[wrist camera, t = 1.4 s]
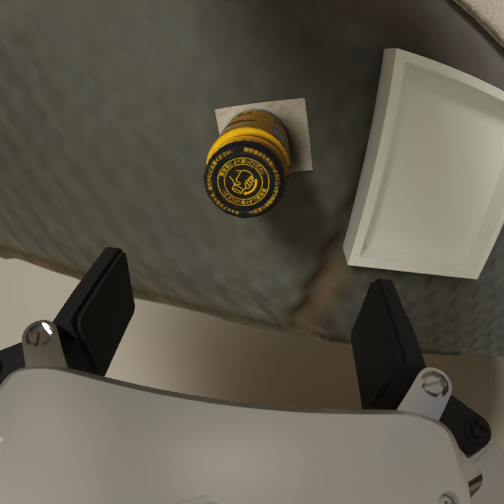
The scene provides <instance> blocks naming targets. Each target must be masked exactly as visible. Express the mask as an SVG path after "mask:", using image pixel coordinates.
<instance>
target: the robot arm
mask: <svg viewBox="0 0 504 504" xmlns="http://www.w3.org/2000/svg"><path fill="white" fill-rule="evenodd" d="M134 310H135V304H134V298H133V293H132V287H131V282H130V276H129V270H128V264H127V257H126V254H125V253H123V252H122V250H121V249H120V248H112V247H106V248H105V249H104V251H103V252H102V253H101V255H100V256H99V257H98V259H97V260H96V261H95V263H94V264H93V265H92V267H91V268H90V269H89V271H88V272H87V274H86V275H85V276H84V278H83V279H82V280H81V281H80V283H79V284H78V286H77V287H76V288H75V290H74V291H73V293H72V294H71V295H70V297H69V298H68V300H67V301H66V303H65V304H64V306H63V307H62V309H61V310H60V312H59V313H58V315H57V316H56V318H55V319H54V321H53V322H50V321H47V320H40V321H36V322H34V323H32V324H30V325H29V326H28V327H27V328H26V329H25V331H24V333H23V335H22V342H21V343H18V344H16V345H13V346H11V347H8V348H6V349H3V350H1V351H0V504H504V451H503V450H502V448H501V447H500V446H499V444H498V443H497V442H496V441H494V442H492V441H491V440H490V438H491V429H490V426H489V424H488V423H487V421H486V420H485V419H484V418H482V417H481V416H480V415H478V414H477V413H476V412H474V411H473V410H472V409H470V408H468V407H467V406H466V405H464V404H463V403H462V402H460V401H459V400H458V399H456V398H455V397H453V396H452V395H451V392H452V384H451V382H450V379H449V378H448V376H447V375H446V374H445V373H444V372H442V371H441V370H439V369H436V368H431V367H430V368H426V366H425V363H424V360H423V357H422V354H421V351H420V348H419V345H418V342H417V339H416V336H415V334H414V331H413V328H412V325H411V323H410V320H409V318H408V316H406V314H405V312H404V309H403V306H402V304H401V301H400V299H399V296H398V294H397V291H396V289H395V286H394V284H393V282H392V280H386V279H377V280H376V281H375V282H372V283H371V285H370V287H369V290H368V292H367V295H366V297H365V300H364V303H363V305H362V308H361V310H360V313H359V315H358V317H357V320H356V322H355V325H354V327H353V329H352V333H351V342H352V348H353V353H354V358H355V365H356V371H357V377H358V383H359V390H360V396H361V403H362V409H331V408H328V409H327V408H305V407H289V406H277V405H265V404H255V403H246V402H245V403H244V402H237V401H229V400H222V399H221V400H220V399H214V398H208V397H201V396H195V395H189V394H183V393H177V392H172V391H166V390H161V389H156V388H151V387H147V386H142V385H137V384H133V383H129V382H124V381H120V380H116V379H111V378H107V377H104V376H105V375H106V372H107V370H108V368H109V365H110V363H111V361H112V359H113V356H114V354H115V352H116V350H117V348H118V345H119V343H120V341H121V339H122V336H123V335H124V332H125V330H126V328H127V326H128V324H129V321H130V320H131V317H132V316H133V313H134Z"/></svg>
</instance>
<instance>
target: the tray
mask: <svg viewBox="0 0 504 504" xmlns="http://www.w3.org/2000/svg"><path fill="white" fill-rule="evenodd" d="M503 223H504V91H502V90H500V89H499V88H497V87H495V86H493V85H490V84H488V83H486V82H484V81H482V80H480V79H478V78H476V77H473V76H471V75H469V74H467V73H464V72H462V71H459V70H457V69H455V68H452V67H450V66H447V65H445V64H442V63H439V62H437V61H434V60H431V59H428V58H426V57H423V56H420V55H417V54H414V53H411V52H408V51H404V50H401V49H398V48H387V49H384V52H383V59H382V66H381V72H380V79H379V85H378V91H377V97H376V102H375V108H374V113H373V119H372V124H371V129H370V134H369V139H368V144H367V149H366V153H365V158H364V162H363V167H362V171H361V176H360V180H359V184H358V189H357V193H356V197H355V201H354V205H353V209H352V213H351V217H350V221H349V224H348V228H347V232H346V236H345V239H344V243H343V250H344V254H345V257H346V261H347V264H348V265H353V266H362V267H371V268H380V269H388V270H397V271H406V272H415V273H424V274H433V275H442V276H451V277H460V278H470V279H477V278H478V277H479V275H480V273H481V271H482V269H483V267H484V265H485V263H486V261H487V259H488V256H489V254H490V252H491V250H492V248H493V246H494V244H495V241H496V239H497V237H498V235H499V232H500V230H501V228H502V225H503Z"/></svg>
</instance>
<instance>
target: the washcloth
mask: <svg viewBox="0 0 504 504" xmlns="http://www.w3.org/2000/svg"><path fill="white" fill-rule="evenodd" d="M453 1H454V2H456V4H457V5H459V6H461V7H462V9H463V10H464V11H466V12H467V13H468V14H470V15H471V16H472V17H473V18H474V19H475V20H476V22H478V23H479V24H480V25H481V26H482V27H483V29H484V30H485V31H487V32H488V33H489V34H490V36H491V37H492V38H493V39H495V40H496V41H497V42H498V43H499V45H501V46H502V47H503V48H504V0H453Z"/></svg>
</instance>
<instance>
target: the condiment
mask: <svg viewBox="0 0 504 504" xmlns="http://www.w3.org/2000/svg"><path fill="white" fill-rule="evenodd" d="M215 113H216V118H217V123H218V128H219V133H220V136H219V137H218V138H217V139H216V140H215V141H214V143H213V145H212V147H211V149H210V151H209V154H208V157H207V165H206V168H205V173H204V183H205V188H206V192H207V194H208V196H209V197H210V198H211V200H212V202H213V203H214V204H215V205H216V206H217V207H218V208H220V209H221V210H223V211H224V212H225V213H226V214H230V215H233V216H237V217H240V218H250V217H256V216H260V215H263V214H265V213H267V212H268V211H270V210H271V209H272V208H273V207H274V206H275V205H276V204H277V203H278V202H279V200H280V199H281V198H282V196H283V193H284V191H285V186H286V184H287V182H288V179H289V176H290V172H299V171H311V170H313V168H312V158H311V149H310V139H309V130H308V121H307V112H306V103H305V98H298V99H288V100H279V101H270V102H262V103H254V104H247V105H240V106H233V107H227V108H221V109H216V110H215ZM281 118H282V119H284V121H282V120H281ZM285 120H286V121H288V123H286V122H285Z"/></svg>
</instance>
